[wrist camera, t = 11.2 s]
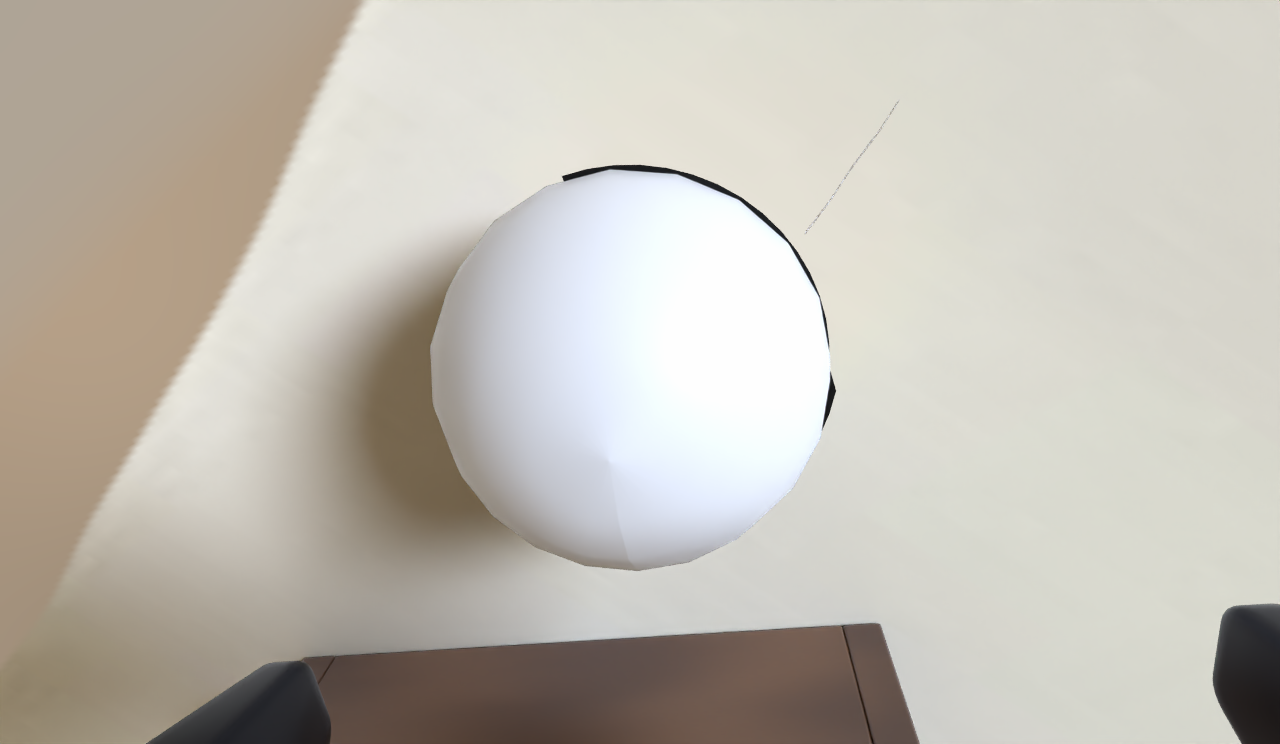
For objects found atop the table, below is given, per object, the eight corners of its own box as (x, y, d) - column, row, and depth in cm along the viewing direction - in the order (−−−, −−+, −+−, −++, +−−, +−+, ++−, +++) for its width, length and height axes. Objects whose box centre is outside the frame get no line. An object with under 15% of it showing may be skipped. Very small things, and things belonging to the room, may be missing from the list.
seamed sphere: (619, 505, 19) (575, 734, 13) (428, 279, 18) (255, 404, 11) (973, 284, 17) (1160, 425, 10) (789, -10, 15) (862, -87, 8)
